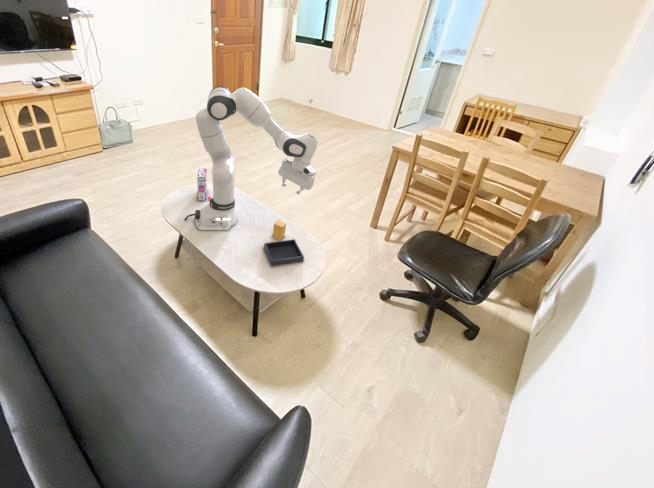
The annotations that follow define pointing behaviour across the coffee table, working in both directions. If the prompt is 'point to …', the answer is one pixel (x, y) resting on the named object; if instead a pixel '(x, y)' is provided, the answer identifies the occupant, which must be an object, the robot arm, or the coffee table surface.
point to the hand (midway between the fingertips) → (290, 190)
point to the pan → (283, 252)
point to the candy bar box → (202, 184)
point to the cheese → (279, 230)
